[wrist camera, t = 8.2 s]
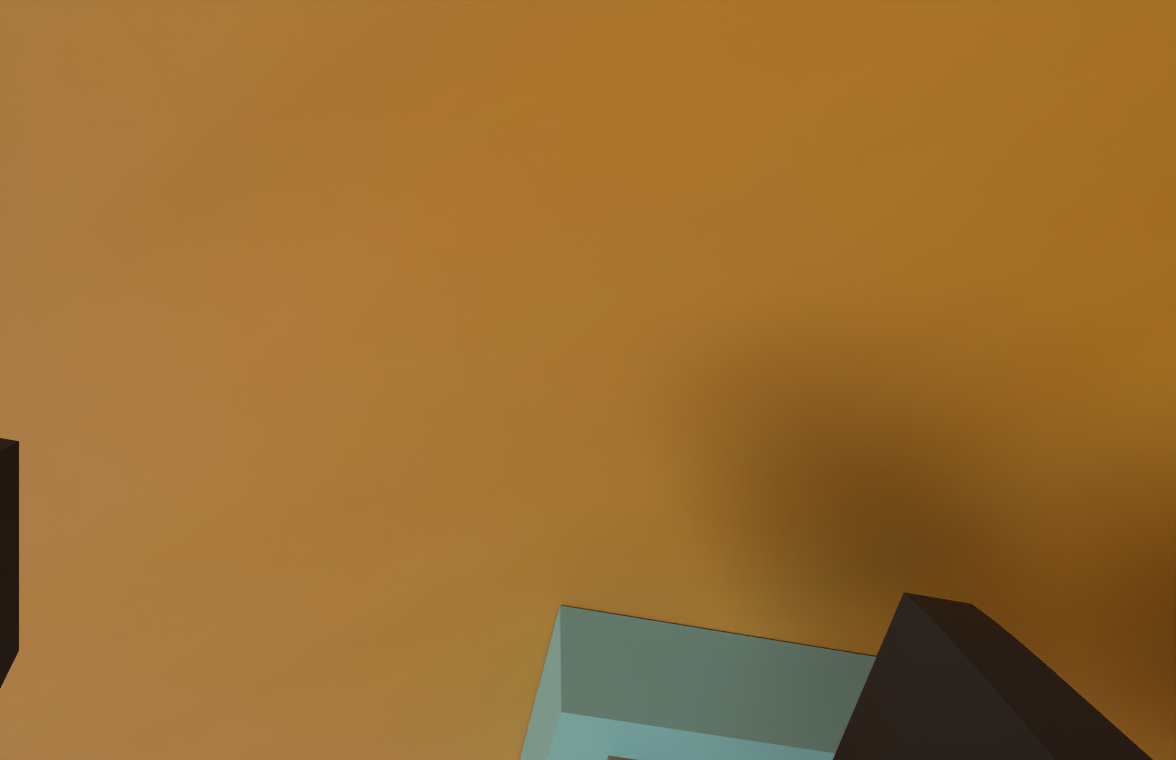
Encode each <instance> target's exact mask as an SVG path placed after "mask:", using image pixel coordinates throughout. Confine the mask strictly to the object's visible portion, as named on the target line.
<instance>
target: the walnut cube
mask: <svg viewBox="0 0 1176 760" xmlns="http://www.w3.org/2000/svg"><path fill="white" fill-rule="evenodd" d="M607 760H636V759H629V758H623V757H616V756H609V755H608V758H607Z"/></svg>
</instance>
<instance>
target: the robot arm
mask: <svg viewBox="0 0 1176 760" xmlns="http://www.w3.org/2000/svg"><path fill="white" fill-rule="evenodd" d="M18 651H19V441H14V440H8V439H2V438H0V688H1V686H2V684H3V682H4V680H5V678H6V676H7V674H8V672H9V669H10V667H11V665H12V663H13V661H14V659H15V657H16V655H17V653H18ZM833 760H1152V759H1151V758H1150V757H1149V756H1148V755H1147V754H1146V753H1145V752H1143V751H1142V750H1141V749H1140V748H1139V747H1138V746H1137V745H1136V744H1134V743H1133V742H1132V741H1131V740H1130V739H1129V738H1128V737H1127V736H1125V735H1124V734H1123V733H1122V732H1121V731H1120V730H1119V729H1118V728H1116V727H1115V726H1114V725H1113V724H1112V723H1111V722H1110V721H1109V720H1108V719H1106V718H1105V717H1104V716H1103V715H1102V714H1101V713H1100V712H1099V711H1097V710H1096V709H1095V708H1094V707H1093V706H1092V705H1091V704H1090V703H1088V702H1087V701H1086V700H1085V699H1084V698H1083V697H1082V696H1081V695H1080V694H1078V693H1077V692H1076V691H1075V690H1074V689H1073V688H1072V687H1071V686H1069V685H1068V684H1067V683H1066V682H1065V681H1064V680H1063V679H1062V678H1060V677H1059V676H1058V675H1057V674H1056V673H1055V672H1054V671H1053V670H1051V669H1050V668H1049V667H1048V666H1047V665H1046V664H1045V663H1043V662H1042V661H1041V660H1040V659H1039V658H1038V657H1037V656H1035V655H1034V654H1033V653H1032V652H1031V651H1030V650H1028V649H1027V648H1026V647H1025V646H1024V645H1023V644H1022V643H1020V642H1019V641H1018V640H1017V639H1016V638H1014V637H1013V636H1012V635H1011V634H1010V633H1008V632H1007V631H1006V630H1005V629H1004V628H1002V627H1001V626H1000V625H999V624H997V623H996V622H995V621H994V620H992V619H991V618H990V617H988V616H987V615H986V614H984V613H983V612H982V611H980V610H979V609H978V608H976V607H975V606H974V605H972V604H969V603H963V602H957V601H951V600H945V599H939V598H934V597H928V596H922V595H916V594H910V593H903V596H902V598H901V600H900V603H899V605H898V607H897V610H896V612H895V615H894V617H893V619H892V622H891V624H890V626H889V629H888V631H887V633H886V636H885V638H884V640H883V643H882V645H881V647H880V650H879V652H878V654H877V657H876V659H875V661H874V664H873V666H872V668H871V671H870V673H869V675H868V678H867V680H866V683H865V685H864V687H863V690H862V692H861V694H860V697H859V699H858V701H857V704H856V706H855V708H854V711H853V713H852V715H851V718H850V720H849V722H848V725H847V727H846V729H845V732H844V734H843V736H842V739H841V741H840V744H839V746H838V748H837V751H836V753H835V755H834V758H833Z"/></svg>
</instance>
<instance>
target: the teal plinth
mask: <svg viewBox="0 0 1176 760" xmlns="http://www.w3.org/2000/svg"><path fill="white" fill-rule="evenodd" d="M875 659H876V657H874V656H868V655H862V654H855V653H849V652H843V651H837V650H831V649H825V648H818V647H812V646H806V645H800V644H794V643H788V642H782V641H775V640H769V639H763V638H757V637H751V636H745V635H739V634H732V633H726V632H720V631H714V630H708V629H702V628H695V627H689V626H683V625H677V624H671V623H665V622H659V621H652V620H646V619H640V618H634V617H628V616H622V615H615V614H609V613H603V612H597V611H591V610H585V609H579V608H572V607H566V606H560V608H559V611H558V615H557V619H556V623H555V627H554V630H553V634H552V638H551V642H550V646H549V649H548V653H547V657H546V661H545V665H544V668H543V672H542V676H541V680H540V684H539V688H538V691H537V695H536V699H535V703H534V707H533V710H532V714H531V718H530V722H529V726H528V729H527V733H526V737H525V741H524V745H523V749H522V752H521V756H520V760H607V758H608V755H609V756H616V757H623V758H629V759H636V760H833V758H834V755H835V753H836V751H837V748H838V746H839V744H840V741H841V739H842V736H843V734H844V732H845V729H846V727H847V725H848V722H849V720H850V718H851V715H852V713H853V711H854V708H855V706H856V704H857V701H858V699H859V697H860V694H861V692H862V690H863V687H864V685H865V683H866V680H867V678H868V675H869V673H870V671H871V668H872V666H873V664H874V661H875Z"/></svg>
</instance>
